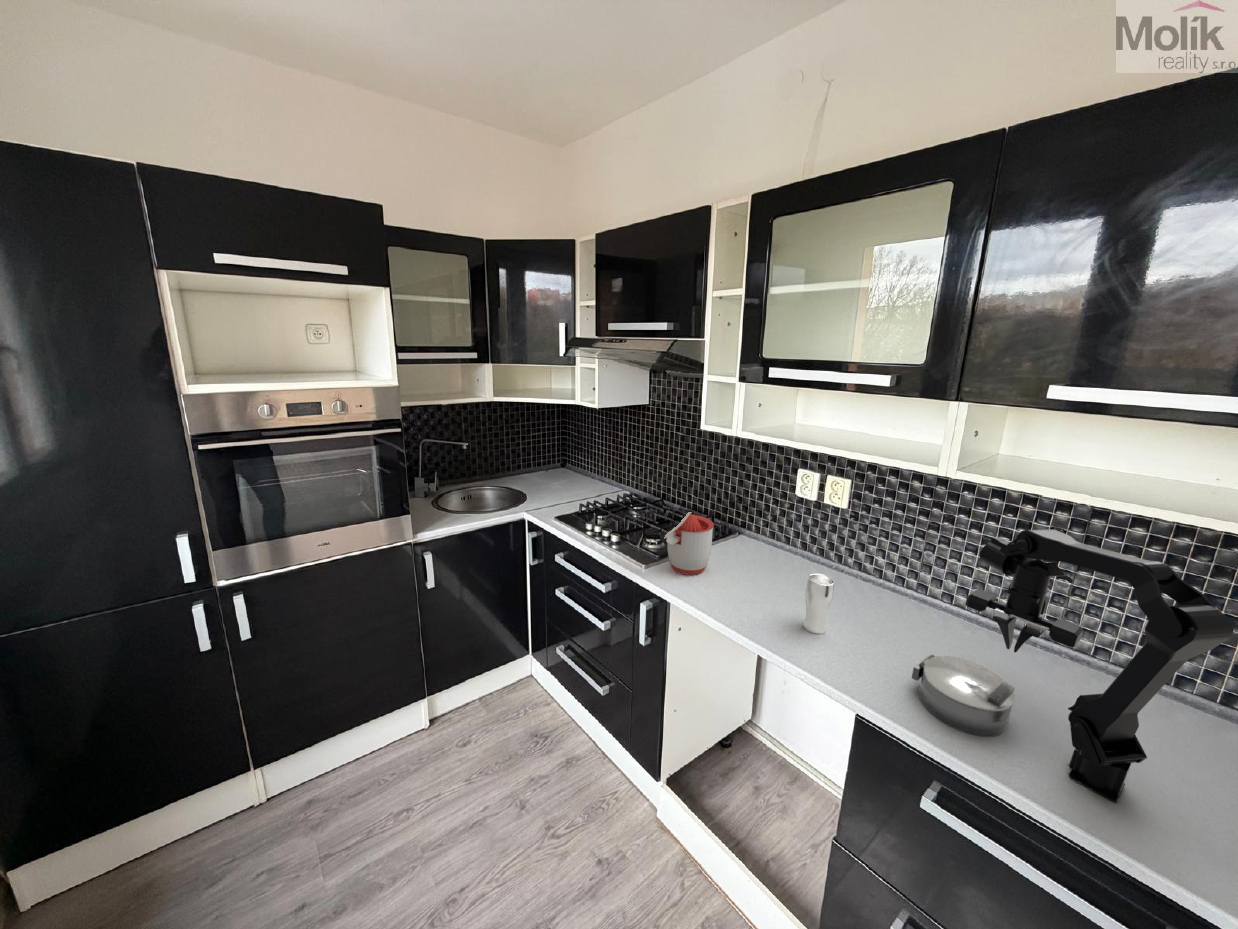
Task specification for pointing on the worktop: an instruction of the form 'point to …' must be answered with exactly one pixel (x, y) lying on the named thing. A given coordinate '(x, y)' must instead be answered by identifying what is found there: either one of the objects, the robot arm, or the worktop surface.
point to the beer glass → (818, 602)
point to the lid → (968, 683)
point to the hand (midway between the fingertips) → (1012, 650)
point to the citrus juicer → (690, 545)
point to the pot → (959, 710)
